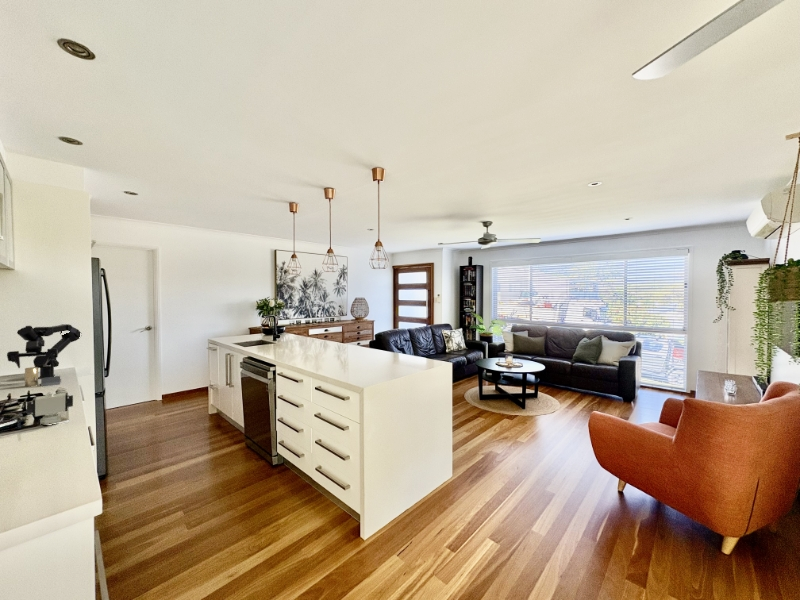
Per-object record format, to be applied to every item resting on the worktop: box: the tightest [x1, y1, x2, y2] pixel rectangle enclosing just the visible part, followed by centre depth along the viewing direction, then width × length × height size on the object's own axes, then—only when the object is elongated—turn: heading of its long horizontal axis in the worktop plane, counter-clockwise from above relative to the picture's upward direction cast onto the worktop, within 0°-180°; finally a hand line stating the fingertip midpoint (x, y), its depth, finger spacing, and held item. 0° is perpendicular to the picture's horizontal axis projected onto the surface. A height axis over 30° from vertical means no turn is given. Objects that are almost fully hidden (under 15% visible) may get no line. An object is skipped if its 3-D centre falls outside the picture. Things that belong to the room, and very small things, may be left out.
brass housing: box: [24, 366, 39, 388], centre depth 175 cm, size 5×5×10 cm
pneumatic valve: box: [26, 392, 74, 426], centre depth 122 cm, size 6×12×12 cm, turn 136°
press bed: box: [40, 375, 62, 387], centre depth 179 cm, size 9×7×4 cm
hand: (31, 366), depth 177 cm, fingers open, 9 cm apart
